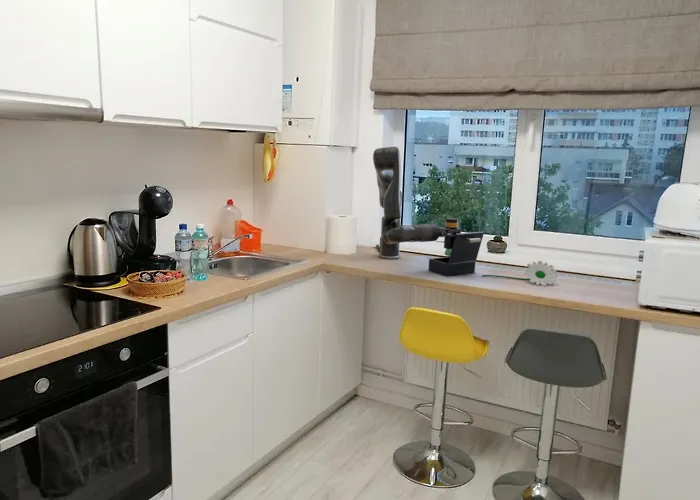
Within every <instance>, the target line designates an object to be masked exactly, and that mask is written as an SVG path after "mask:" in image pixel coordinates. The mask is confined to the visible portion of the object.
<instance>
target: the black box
mask: <svg viewBox="0 0 700 500" xmlns="http://www.w3.org/2000/svg"><path fill="white" fill-rule="evenodd" d="M449 258H450V257H447V256H443V257H434V258H429V260H428V271H429V272H432V273H436V274H438V275H441V276H445V277H455V276H462V275H470V274H475V273H476V272H475V271H476V261H468V262H459V263H450V264H449V263H448V262H449Z"/></svg>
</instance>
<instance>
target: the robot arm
mask: <svg viewBox="0 0 700 500" xmlns="http://www.w3.org/2000/svg"><path fill="white" fill-rule="evenodd" d="M372 161H373V167H374V170H375V173H376V174H375V175H376V183H377V187H378V201H379V206H380V208H382V209H383V216H381V222H380V223H381V224H380V225H381V226H380V237H379V244H376V245H375V248H377V252H378V256H379V257H380V258H381V259H387V260H395V259H399V258H400V245H401V244H400V243H417V242H418V243H427V242H428V243H429V242H436V241H438V239H439V238H444V237H454V236H455V235H456V234H460V233H462V229H457V230H454V229H453V230H450V229H449V228H445V227H443V226H438V225H437V224H436V223H421V224H411V225H405V224H403V225H402V224H401V219H402V205H403V204H402V203H403V193H402V191H401V177H402V175H401V173H402V172H401V170H402V169H401V167H402V166H401V163H402V162H401V153H400V148H399V147H398V146H385V147H377V148H375V149H374V150H373V153H372ZM446 230H448V231H446Z"/></svg>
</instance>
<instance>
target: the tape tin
mask: <svg viewBox="0 0 700 500" xmlns="http://www.w3.org/2000/svg"><path fill="white" fill-rule="evenodd" d="M444 222H445V223H444V228H449V229H450V230H453V229H454V230H457V229H458V228H459V218H455V217H446V218H445V221H444ZM446 231H448V230H446ZM443 239H444V240H443V241H444V243H443V249H445V250H446V249H452V247H453V243H454V239H455V236H454V237H443Z"/></svg>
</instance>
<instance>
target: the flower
mask: <svg viewBox="0 0 700 500" xmlns="http://www.w3.org/2000/svg"><path fill="white" fill-rule="evenodd" d="M526 266H527V267H524V270H526V271H523V274H524V275H525V276H526V277H524V278H523V277H516V276H515V277H514V276H508V275H507V276H506V275H496V274H482V277H493V278H503V279H504V278H505V279H513V280H522V281H529V283H532V284H533V283H535V284H536V286H539V285H541V286H542V287H544V286H547V284H548V285H552V284H553V283H555V282H556V281H557V279H556V278H558V277H559V273H557V269H554V265H552V264H550V265H548V262H547V261H546V262H544V263H543V261H542V260H538V261H537V262H535V261H532V263H528V264H526ZM552 282H553V283H552Z"/></svg>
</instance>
